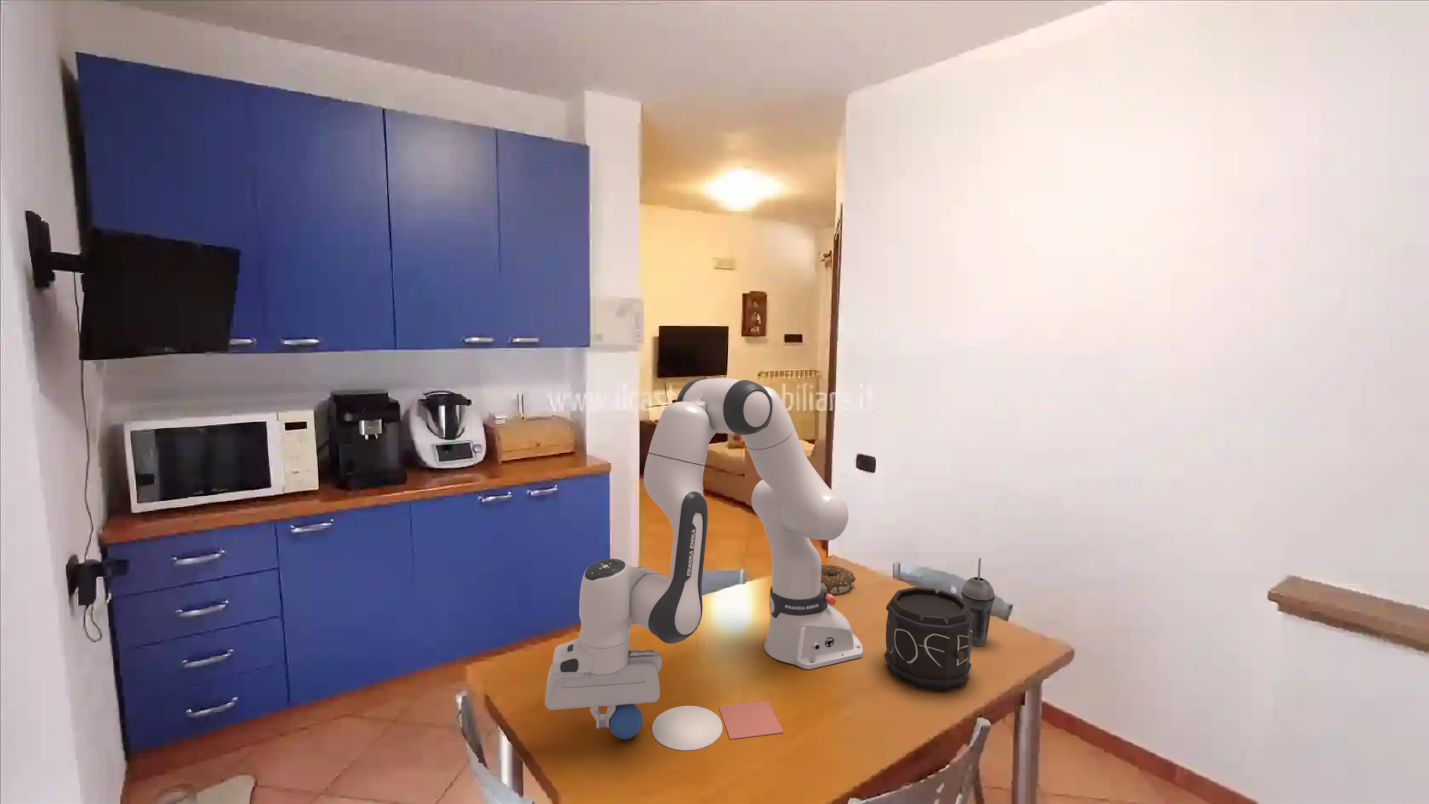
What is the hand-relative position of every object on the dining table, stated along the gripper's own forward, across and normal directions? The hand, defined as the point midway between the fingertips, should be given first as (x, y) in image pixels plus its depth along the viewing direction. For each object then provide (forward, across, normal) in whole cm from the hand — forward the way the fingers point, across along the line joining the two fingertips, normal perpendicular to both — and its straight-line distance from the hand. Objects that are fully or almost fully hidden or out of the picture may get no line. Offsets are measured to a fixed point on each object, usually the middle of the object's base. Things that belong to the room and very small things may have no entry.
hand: (602, 726), depth 115 cm
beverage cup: (-1, -87, -20) cm, 90 cm away
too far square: (+1, -28, 0) cm, 28 cm away
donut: (0, -65, -57) cm, 87 cm away
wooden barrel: (0, -69, -10) cm, 70 cm away
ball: (-1, -4, 0) cm, 4 cm away
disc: (+2, -16, 0) cm, 16 cm away
